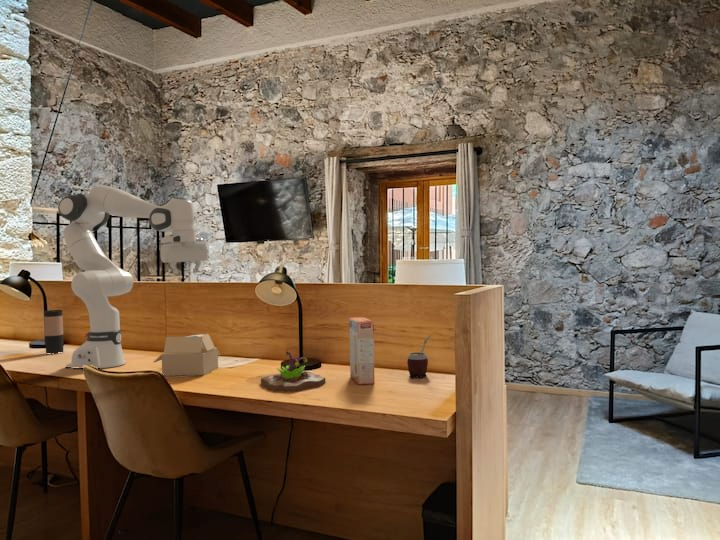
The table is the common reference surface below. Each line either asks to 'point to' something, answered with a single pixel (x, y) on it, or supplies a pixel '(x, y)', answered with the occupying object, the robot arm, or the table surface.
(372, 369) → the cracker box
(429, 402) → the table surface
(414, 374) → the mate gourd
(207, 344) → the flap
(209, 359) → the carton
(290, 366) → the plant
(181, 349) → the flap
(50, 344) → the travel mug
